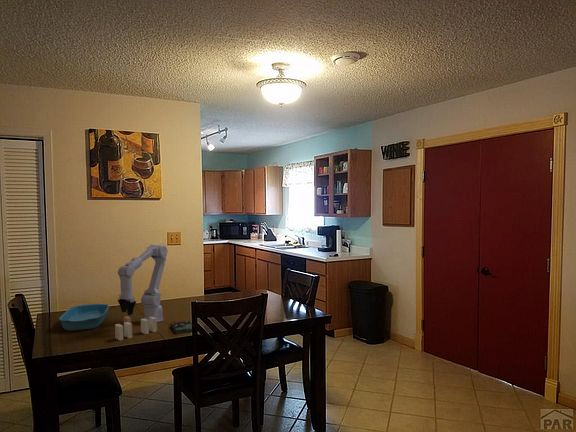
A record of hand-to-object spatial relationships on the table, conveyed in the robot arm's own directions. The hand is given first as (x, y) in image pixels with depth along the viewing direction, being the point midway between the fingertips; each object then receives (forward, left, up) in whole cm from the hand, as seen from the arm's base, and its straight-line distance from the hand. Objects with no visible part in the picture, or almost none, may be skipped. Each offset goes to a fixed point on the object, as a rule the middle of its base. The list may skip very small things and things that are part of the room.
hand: (127, 313), depth 221 cm
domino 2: (0, 0, -9) cm, 9 cm away
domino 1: (+9, +11, -9) cm, 17 cm away
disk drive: (-22, +20, -10) cm, 31 cm away
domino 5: (-9, +11, -9) cm, 17 cm away
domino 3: (+4, +11, -9) cm, 15 cm away
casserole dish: (+10, -32, -10) cm, 35 cm away
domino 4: (-5, +11, -9) cm, 15 cm away
